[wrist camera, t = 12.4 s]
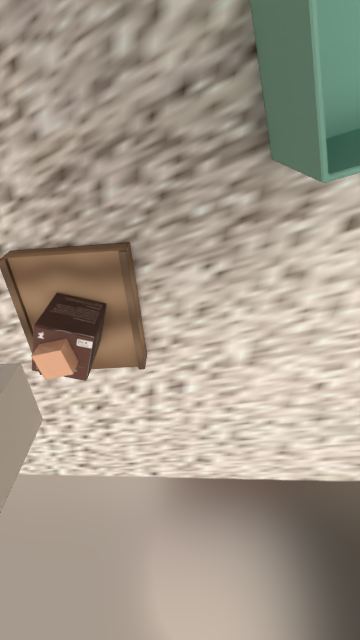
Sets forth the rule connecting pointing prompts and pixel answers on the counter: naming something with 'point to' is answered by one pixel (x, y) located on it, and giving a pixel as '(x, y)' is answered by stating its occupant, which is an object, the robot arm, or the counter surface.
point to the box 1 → (72, 329)
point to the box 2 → (311, 83)
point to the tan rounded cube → (55, 359)
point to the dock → (82, 294)
